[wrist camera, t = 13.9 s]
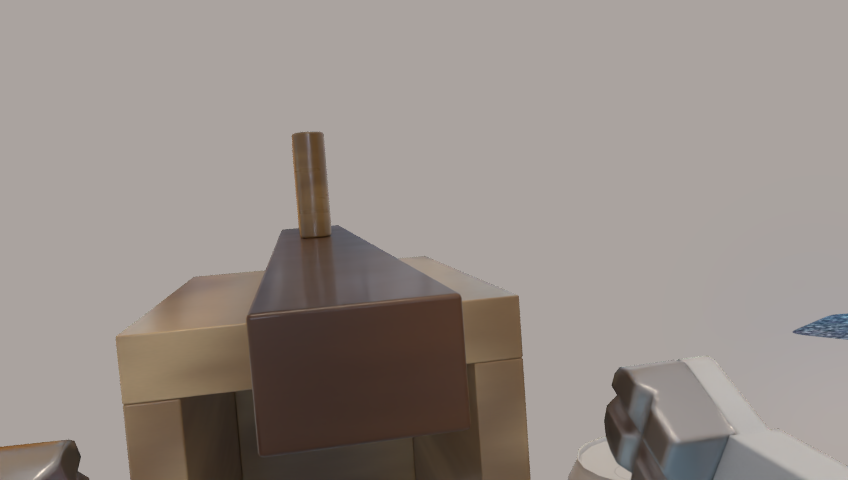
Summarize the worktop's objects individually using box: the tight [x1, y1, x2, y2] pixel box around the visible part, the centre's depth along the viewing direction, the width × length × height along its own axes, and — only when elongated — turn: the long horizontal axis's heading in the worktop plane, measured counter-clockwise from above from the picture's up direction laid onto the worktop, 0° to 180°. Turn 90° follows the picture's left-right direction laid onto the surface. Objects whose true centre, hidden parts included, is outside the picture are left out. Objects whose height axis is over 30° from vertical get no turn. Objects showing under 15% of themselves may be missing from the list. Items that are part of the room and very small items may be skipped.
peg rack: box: [246, 132, 471, 457], centre depth 23 cm, size 3×28×6 cm, turn 10°
